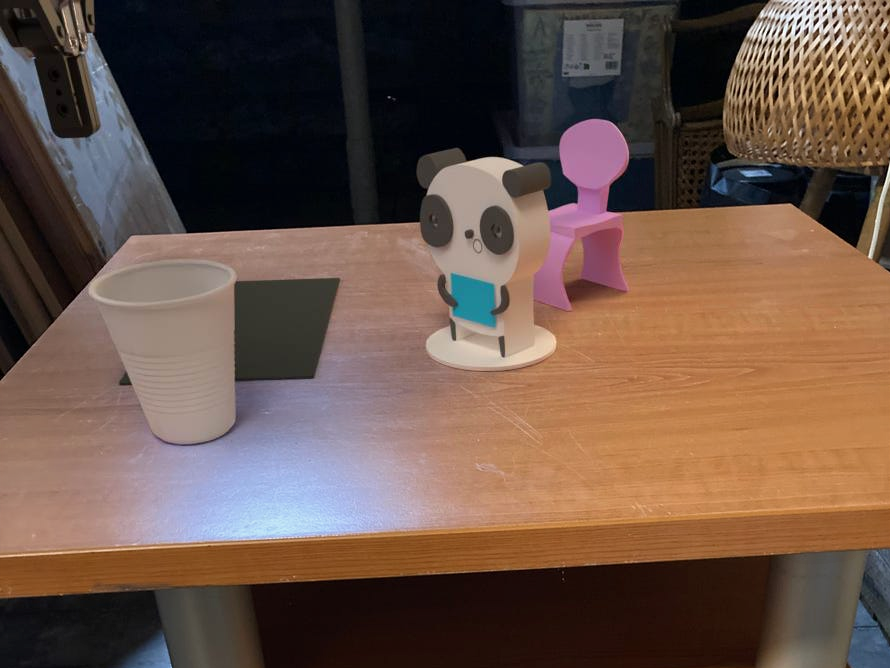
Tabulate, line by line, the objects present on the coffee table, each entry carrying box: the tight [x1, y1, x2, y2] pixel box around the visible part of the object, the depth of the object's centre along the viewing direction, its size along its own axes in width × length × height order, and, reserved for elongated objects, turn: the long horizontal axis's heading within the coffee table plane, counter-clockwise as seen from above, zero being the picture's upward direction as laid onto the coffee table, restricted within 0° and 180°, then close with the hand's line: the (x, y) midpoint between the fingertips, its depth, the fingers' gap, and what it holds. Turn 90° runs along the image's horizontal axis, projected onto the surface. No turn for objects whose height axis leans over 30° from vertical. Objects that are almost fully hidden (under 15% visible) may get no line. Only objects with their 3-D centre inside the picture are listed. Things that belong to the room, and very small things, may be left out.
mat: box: [118, 277, 341, 386], centre depth 92 cm, size 26×16×1 cm, turn 2°
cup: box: [87, 258, 238, 445], centre depth 71 cm, size 10×10×11 cm
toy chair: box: [533, 118, 630, 312], centre depth 93 cm, size 8×9×15 cm
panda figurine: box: [416, 147, 557, 372], centre depth 82 cm, size 12×11×15 cm
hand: (78, 134), depth 54 cm, fingers closed
